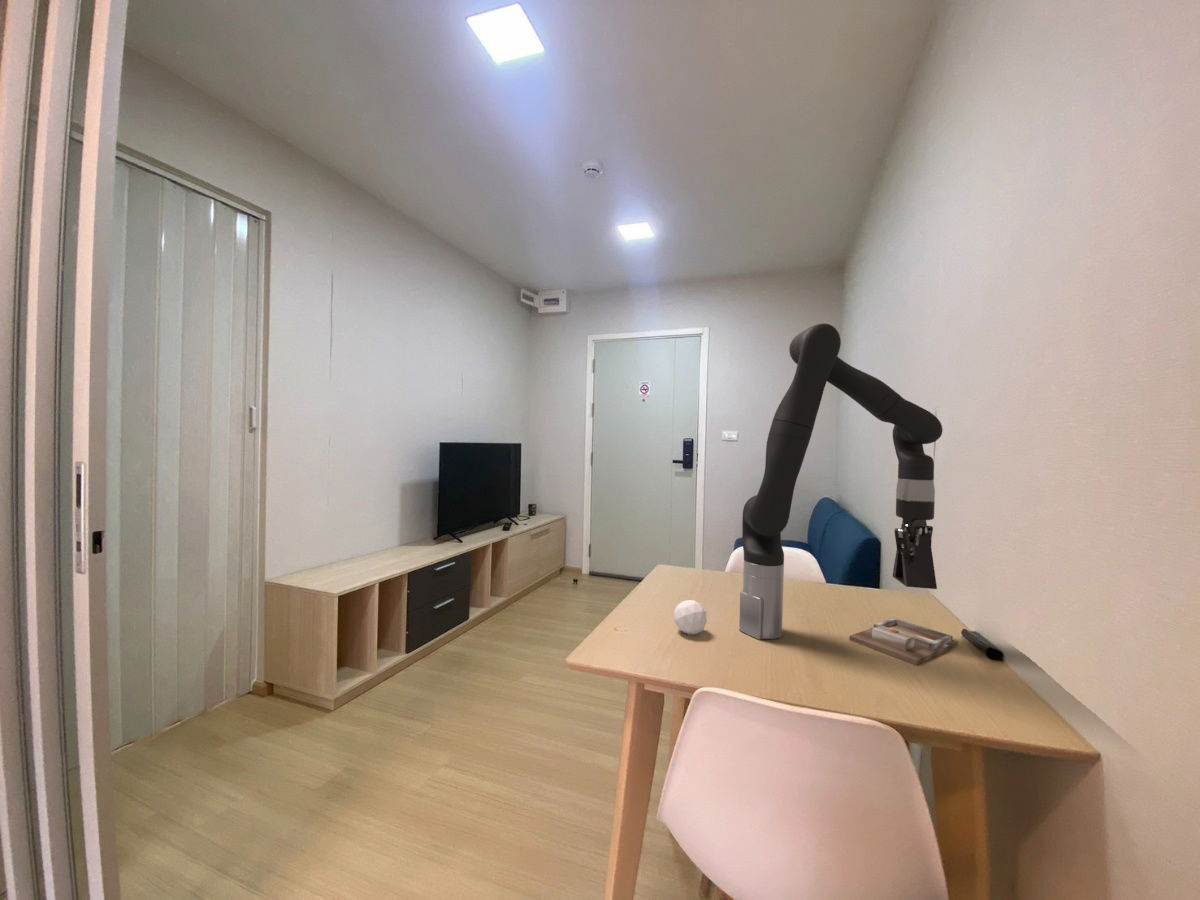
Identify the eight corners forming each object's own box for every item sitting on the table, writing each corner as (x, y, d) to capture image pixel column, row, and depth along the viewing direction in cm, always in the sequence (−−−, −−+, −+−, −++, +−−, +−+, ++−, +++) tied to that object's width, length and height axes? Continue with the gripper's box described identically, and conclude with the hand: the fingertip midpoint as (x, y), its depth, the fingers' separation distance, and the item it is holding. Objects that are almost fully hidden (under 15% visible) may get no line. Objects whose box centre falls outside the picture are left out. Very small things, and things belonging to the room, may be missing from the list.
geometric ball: (690, 647, 105) (681, 627, 101) (672, 624, 112) (664, 603, 108) (716, 630, 106) (709, 609, 102) (697, 608, 113) (690, 587, 109)
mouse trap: (916, 665, 93) (916, 647, 93) (849, 639, 105) (849, 624, 105) (958, 645, 103) (958, 629, 103) (893, 624, 115) (893, 610, 115)
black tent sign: (936, 589, 101) (937, 536, 101) (906, 586, 103) (907, 535, 103) (920, 578, 110) (920, 530, 110) (892, 576, 111) (893, 528, 111)
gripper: (912, 495, 113) (910, 562, 113) (882, 497, 106) (880, 569, 106) (947, 498, 107) (945, 570, 107) (918, 501, 99) (916, 577, 99)
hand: (913, 569), depth 106 cm, fingers closed on black tent sign, 4 cm apart
